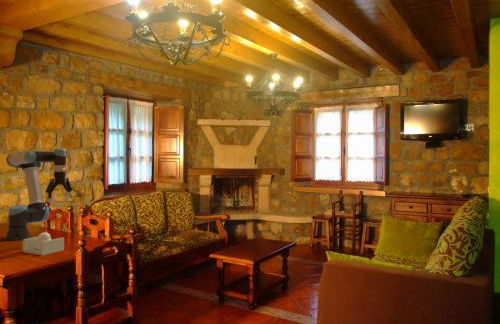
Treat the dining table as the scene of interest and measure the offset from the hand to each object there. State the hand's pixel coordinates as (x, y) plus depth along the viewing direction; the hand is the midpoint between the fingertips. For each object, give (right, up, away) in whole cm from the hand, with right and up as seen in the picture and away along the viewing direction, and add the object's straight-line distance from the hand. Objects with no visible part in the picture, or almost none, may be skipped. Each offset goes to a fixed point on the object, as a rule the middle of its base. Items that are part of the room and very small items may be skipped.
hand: (59, 201), depth 284 cm
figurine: (+1, -29, -23) cm, 37 cm away
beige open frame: (+1, -29, -23) cm, 37 cm away
